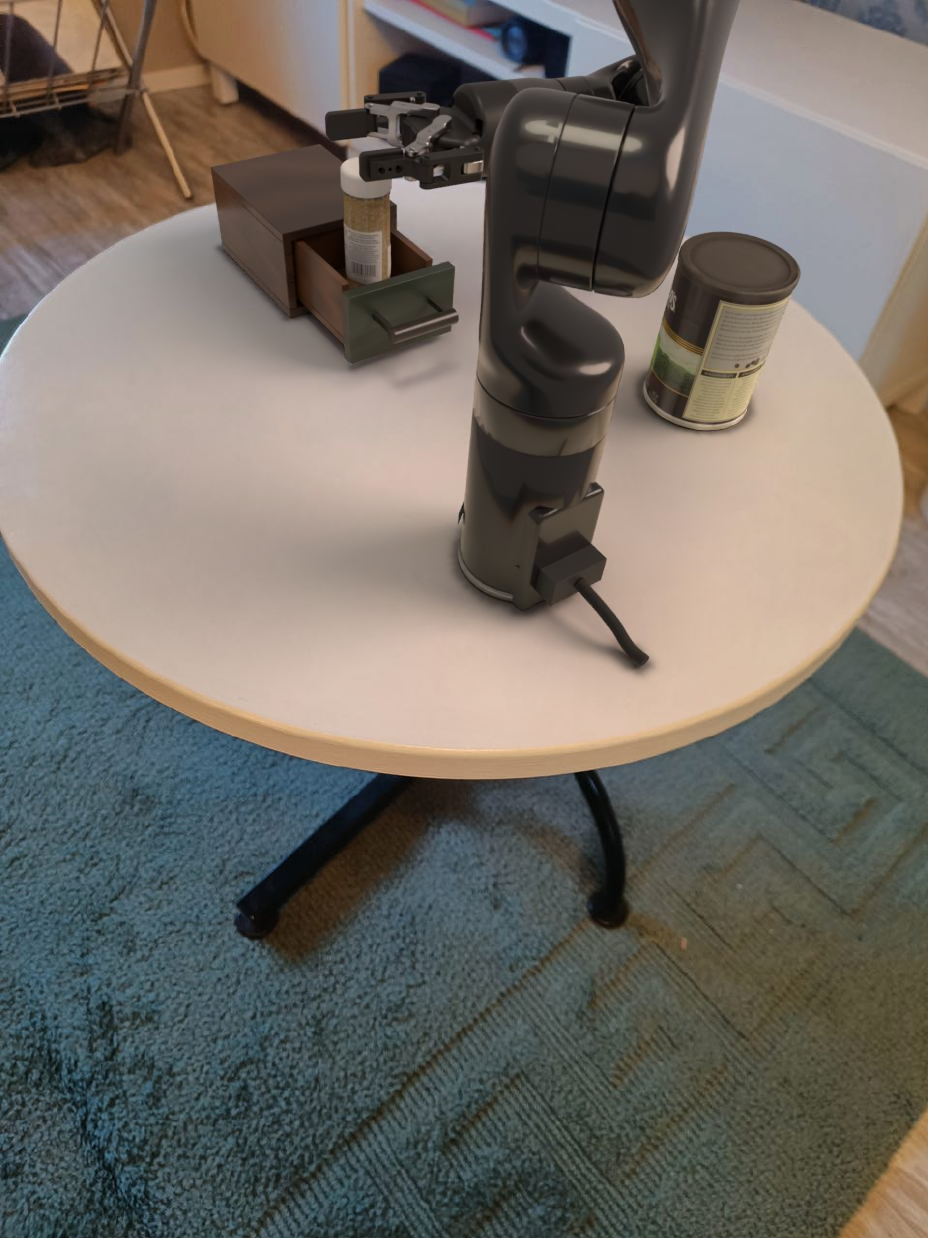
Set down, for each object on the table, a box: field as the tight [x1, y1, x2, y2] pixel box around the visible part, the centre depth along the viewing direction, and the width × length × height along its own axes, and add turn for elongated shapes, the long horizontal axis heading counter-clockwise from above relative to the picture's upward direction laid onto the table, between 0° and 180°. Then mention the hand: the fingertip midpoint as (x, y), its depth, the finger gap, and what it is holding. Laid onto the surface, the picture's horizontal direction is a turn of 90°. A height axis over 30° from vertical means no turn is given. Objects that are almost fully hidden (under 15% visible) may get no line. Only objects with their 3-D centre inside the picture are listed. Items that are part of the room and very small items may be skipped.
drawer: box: [291, 224, 460, 365], centre depth 85 cm, size 19×12×7 cm, turn 35°
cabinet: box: [210, 143, 398, 319], centre depth 91 cm, size 16×13×9 cm
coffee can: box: [642, 231, 802, 431], centre depth 79 cm, size 10×10×14 cm
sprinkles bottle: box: [340, 156, 393, 290], centre depth 82 cm, size 5×5×13 cm
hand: (342, 146), depth 75 cm, fingers open, 8 cm apart
